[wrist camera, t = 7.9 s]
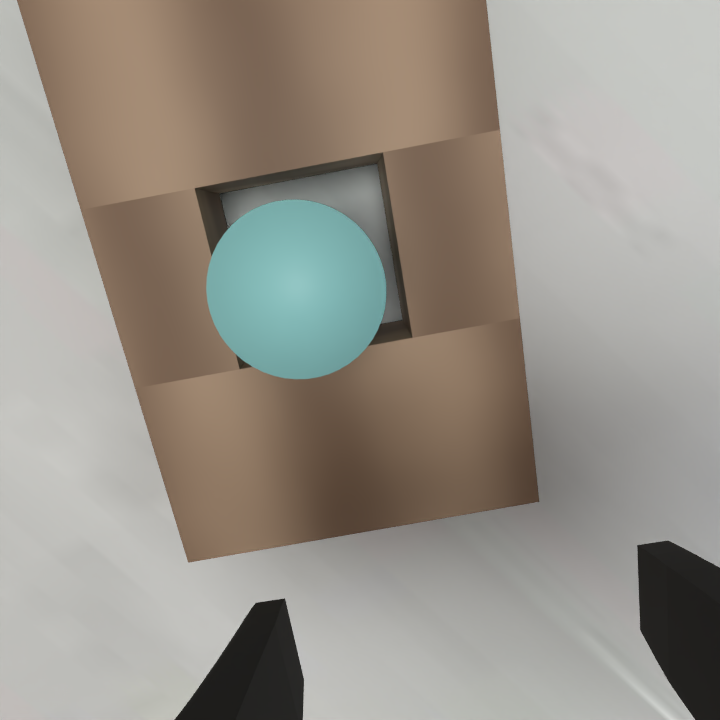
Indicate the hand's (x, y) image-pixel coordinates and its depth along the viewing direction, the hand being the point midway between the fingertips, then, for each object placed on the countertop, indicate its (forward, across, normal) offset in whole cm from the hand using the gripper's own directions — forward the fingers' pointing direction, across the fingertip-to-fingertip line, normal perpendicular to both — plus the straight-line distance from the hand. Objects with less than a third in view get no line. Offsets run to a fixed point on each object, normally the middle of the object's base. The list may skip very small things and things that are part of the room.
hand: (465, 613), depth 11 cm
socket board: (+10, +2, -7) cm, 12 cm away
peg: (+10, +2, -7) cm, 12 cm away
